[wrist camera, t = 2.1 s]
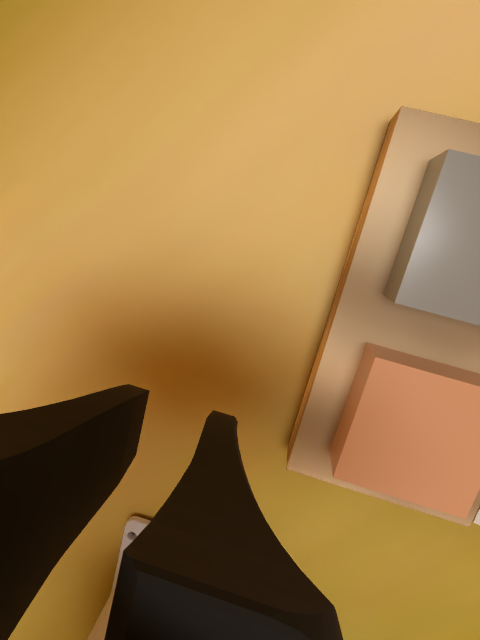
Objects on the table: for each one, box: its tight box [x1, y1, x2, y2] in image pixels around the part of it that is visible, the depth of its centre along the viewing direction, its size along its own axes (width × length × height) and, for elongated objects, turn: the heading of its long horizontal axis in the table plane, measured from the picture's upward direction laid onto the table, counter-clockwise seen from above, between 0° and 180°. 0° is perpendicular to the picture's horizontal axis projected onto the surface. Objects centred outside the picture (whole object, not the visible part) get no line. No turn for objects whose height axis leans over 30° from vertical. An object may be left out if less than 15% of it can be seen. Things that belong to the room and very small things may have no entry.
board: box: [286, 106, 480, 527], centre depth 17 cm, size 15×8×2 cm, turn 166°
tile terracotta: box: [330, 342, 480, 519], centre depth 15 cm, size 5×5×2 cm
